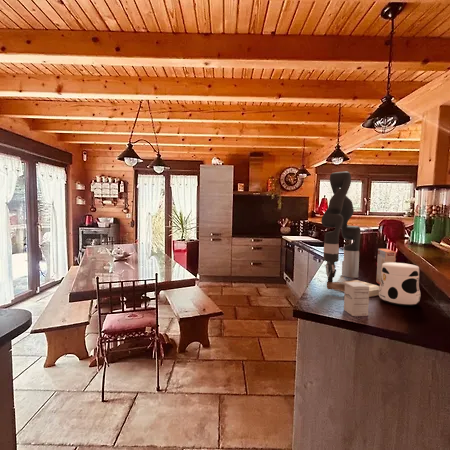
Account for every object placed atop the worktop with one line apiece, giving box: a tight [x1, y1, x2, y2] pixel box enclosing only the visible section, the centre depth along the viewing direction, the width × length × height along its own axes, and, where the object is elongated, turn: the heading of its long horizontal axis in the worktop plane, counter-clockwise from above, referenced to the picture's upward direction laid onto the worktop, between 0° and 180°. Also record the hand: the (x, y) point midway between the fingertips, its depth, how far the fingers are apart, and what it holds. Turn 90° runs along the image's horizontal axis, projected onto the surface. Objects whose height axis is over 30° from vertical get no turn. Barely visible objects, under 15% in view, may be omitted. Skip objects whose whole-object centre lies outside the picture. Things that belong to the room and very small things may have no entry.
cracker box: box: [375, 248, 397, 286], centre depth 175 cm, size 14×6×21 cm, turn 168°
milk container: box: [378, 262, 422, 307], centre depth 143 cm, size 17×17×18 cm
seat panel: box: [339, 279, 380, 298], centre depth 163 cm, size 19×18×3 cm
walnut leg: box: [326, 281, 345, 291], centre depth 154 cm, size 16×4×3 cm, turn 81°
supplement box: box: [343, 281, 370, 317], centre depth 128 cm, size 7×7×13 cm
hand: (330, 284), depth 158 cm, fingers closed
